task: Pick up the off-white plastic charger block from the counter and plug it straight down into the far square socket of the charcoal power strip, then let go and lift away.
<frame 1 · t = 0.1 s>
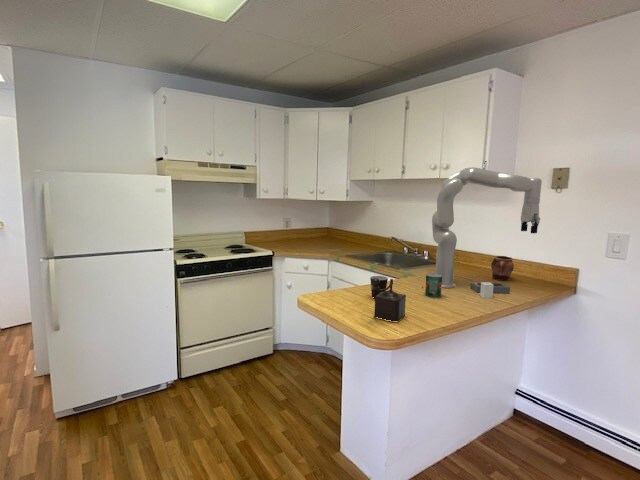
hand: (528, 232, 199), 31 cm above the worktop, tool pointing down, fingers open, 9 cm apart
decorative planter: (501, 279, 220), on the worktop
power strip: (489, 290, 195), on the worktop
coffee mug: (378, 296, 182), on the worktop
charger: (486, 296, 184), on the worktop
manual coffee grinder: (386, 318, 151), on the worktop
canned tomato: (432, 296, 184), on the worktop
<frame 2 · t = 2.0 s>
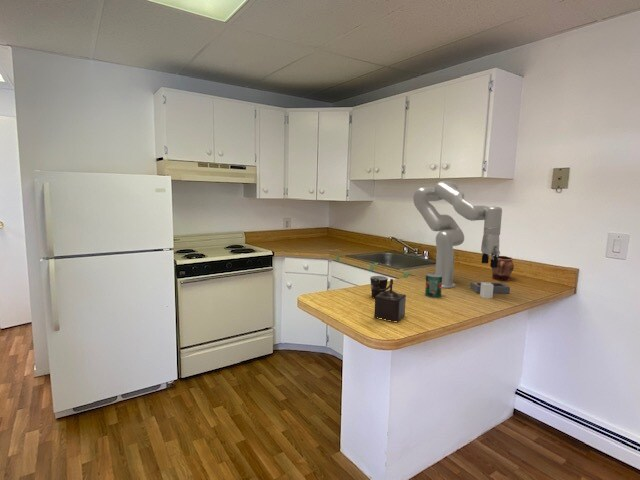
hand: (489, 265, 182), 16 cm above the worktop, tool pointing down, fingers open, 9 cm apart
nothing on the worktop moved.
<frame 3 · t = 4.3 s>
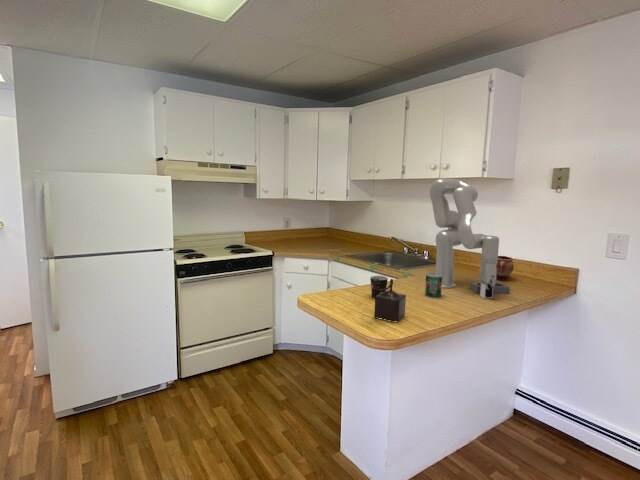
hand: (486, 295, 184), 1 cm above the worktop, tool pointing down, fingers closed on charger, 4 cm apart
charger: (486, 296, 184), on the worktop, touching gripper
everything else where it was.
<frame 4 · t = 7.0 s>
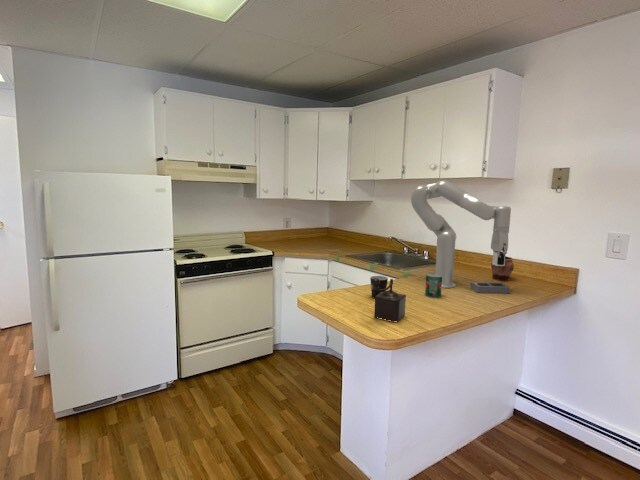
hand: (498, 263, 192), 15 cm above the worktop, tool pointing down, fingers closed on charger, 4 cm apart
charger: (498, 264, 192), point 14 cm above the worktop, touching gripper
everything else where it was.
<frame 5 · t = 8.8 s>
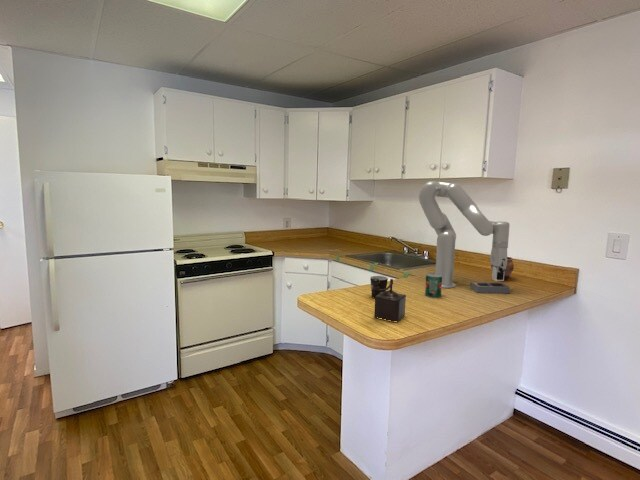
hand: (497, 278, 193), 7 cm above the worktop, tool pointing down, fingers closed on charger, 4 cm apart
charger: (497, 279, 193), point 6 cm above the worktop, touching gripper
everything else where it was.
when the fingers open (4 cm above the worktop, at t = 9.9 s): charger drops 3 cm, resting on power strip.
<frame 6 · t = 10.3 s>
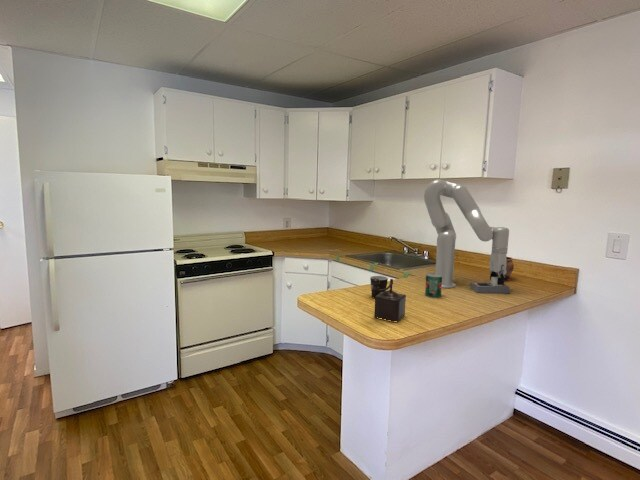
hand: (496, 282, 194), 5 cm above the worktop, tool pointing down, fingers open, 8 cm apart
charger: (496, 290, 194), resting on power strip
everything else where it was.
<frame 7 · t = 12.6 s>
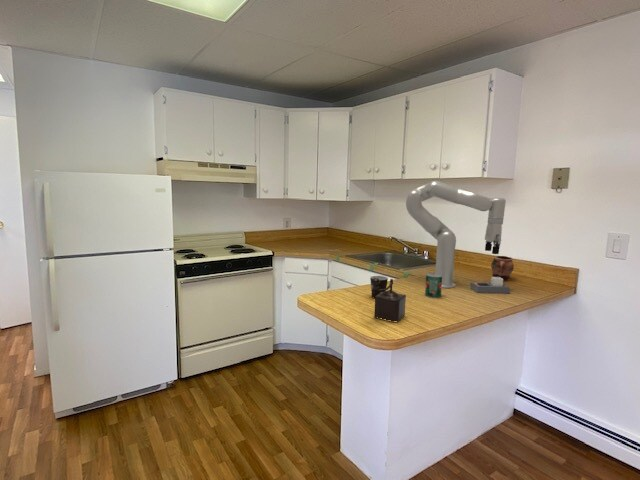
hand: (491, 252, 196), 20 cm above the worktop, tool pointing down, fingers open, 9 cm apart
nothing on the worktop moved.
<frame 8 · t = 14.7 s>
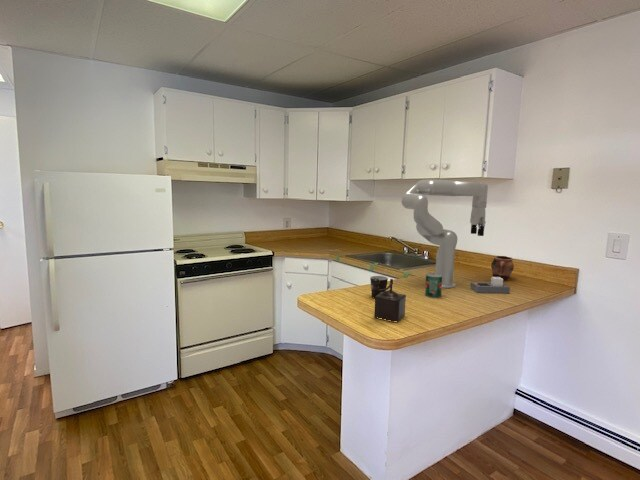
hand: (476, 234, 208), 28 cm above the worktop, tool pointing down, fingers open, 9 cm apart
nothing on the worktop moved.
at the end: charger 0.1 cm from the target spot on the power strip, point 0.3 cm above the power strip's base; charger tilted 0°; the gripper is holding nothing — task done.
